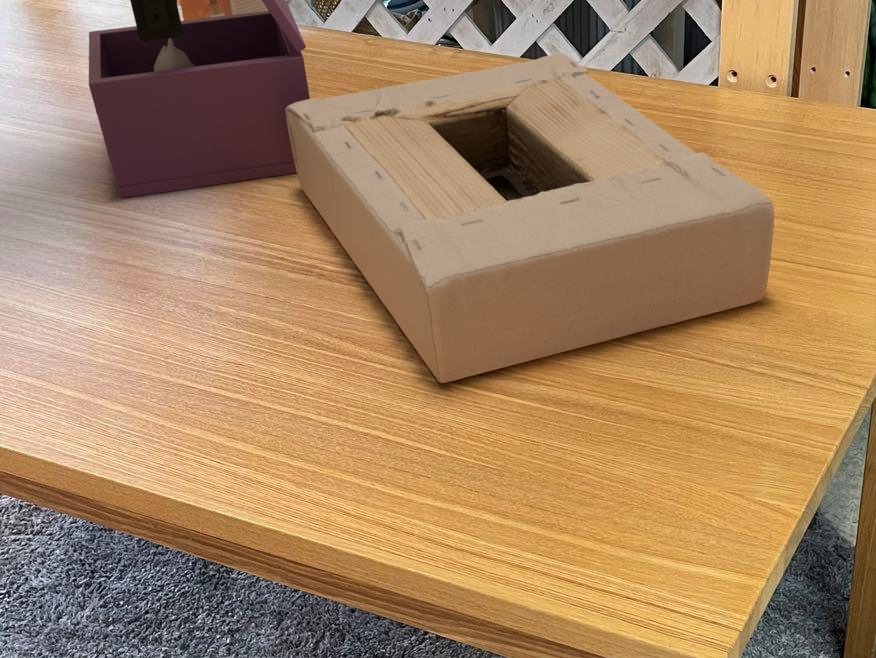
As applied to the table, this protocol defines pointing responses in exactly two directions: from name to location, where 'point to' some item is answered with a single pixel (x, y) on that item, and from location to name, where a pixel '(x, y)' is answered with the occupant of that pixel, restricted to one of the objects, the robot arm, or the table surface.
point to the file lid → (286, 22)
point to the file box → (197, 103)
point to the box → (526, 213)
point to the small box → (219, 8)
